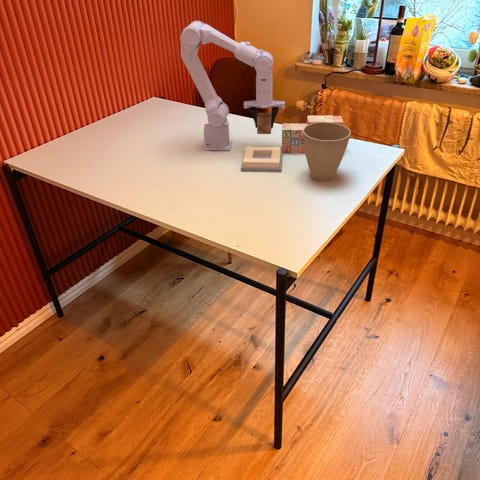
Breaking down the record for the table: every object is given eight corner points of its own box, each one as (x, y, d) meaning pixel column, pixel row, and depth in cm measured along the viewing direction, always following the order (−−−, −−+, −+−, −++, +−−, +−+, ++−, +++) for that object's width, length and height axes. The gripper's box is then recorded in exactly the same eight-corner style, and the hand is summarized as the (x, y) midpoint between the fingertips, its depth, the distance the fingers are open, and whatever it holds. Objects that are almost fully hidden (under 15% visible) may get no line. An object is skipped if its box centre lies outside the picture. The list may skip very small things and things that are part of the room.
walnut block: (257, 133, 164) (256, 118, 161) (258, 128, 168) (258, 113, 165) (270, 134, 164) (270, 118, 160) (271, 128, 168) (271, 113, 164)
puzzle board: (240, 171, 156) (240, 162, 154) (244, 153, 167) (244, 145, 165) (281, 172, 154) (281, 163, 152) (282, 154, 165) (282, 146, 163)
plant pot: (317, 191, 143) (321, 144, 134) (292, 172, 154) (293, 127, 144) (354, 179, 148) (360, 133, 139) (327, 161, 159) (331, 118, 150)
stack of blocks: (281, 153, 166) (282, 121, 159) (281, 146, 171) (282, 115, 164) (340, 154, 164) (343, 121, 157) (338, 146, 169) (341, 115, 162)
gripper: (242, 93, 154) (243, 131, 163) (284, 93, 153) (283, 131, 161) (244, 87, 160) (245, 123, 168) (285, 87, 159) (284, 123, 167)
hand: (264, 126), depth 165 cm, fingers closed on walnut block, 5 cm apart
